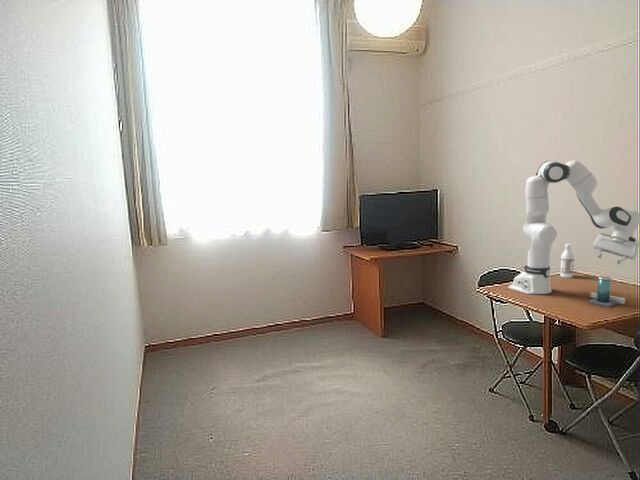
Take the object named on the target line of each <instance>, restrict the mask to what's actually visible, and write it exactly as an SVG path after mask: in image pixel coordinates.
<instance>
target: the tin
mask: <svg viewBox="0 0 640 480" xmlns="http://www.w3.org/2000/svg"><path fill="white" fill-rule="evenodd" d="M597 279H598V280H597V292H596V293H597V301H598V302H603V303H608V302H609V301H610V296H611V285H612V284H611V282H612V278H611V277H610V276H606V275H605V276H603V275H602V276H601V275H600V276H598V277H597Z"/></svg>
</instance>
